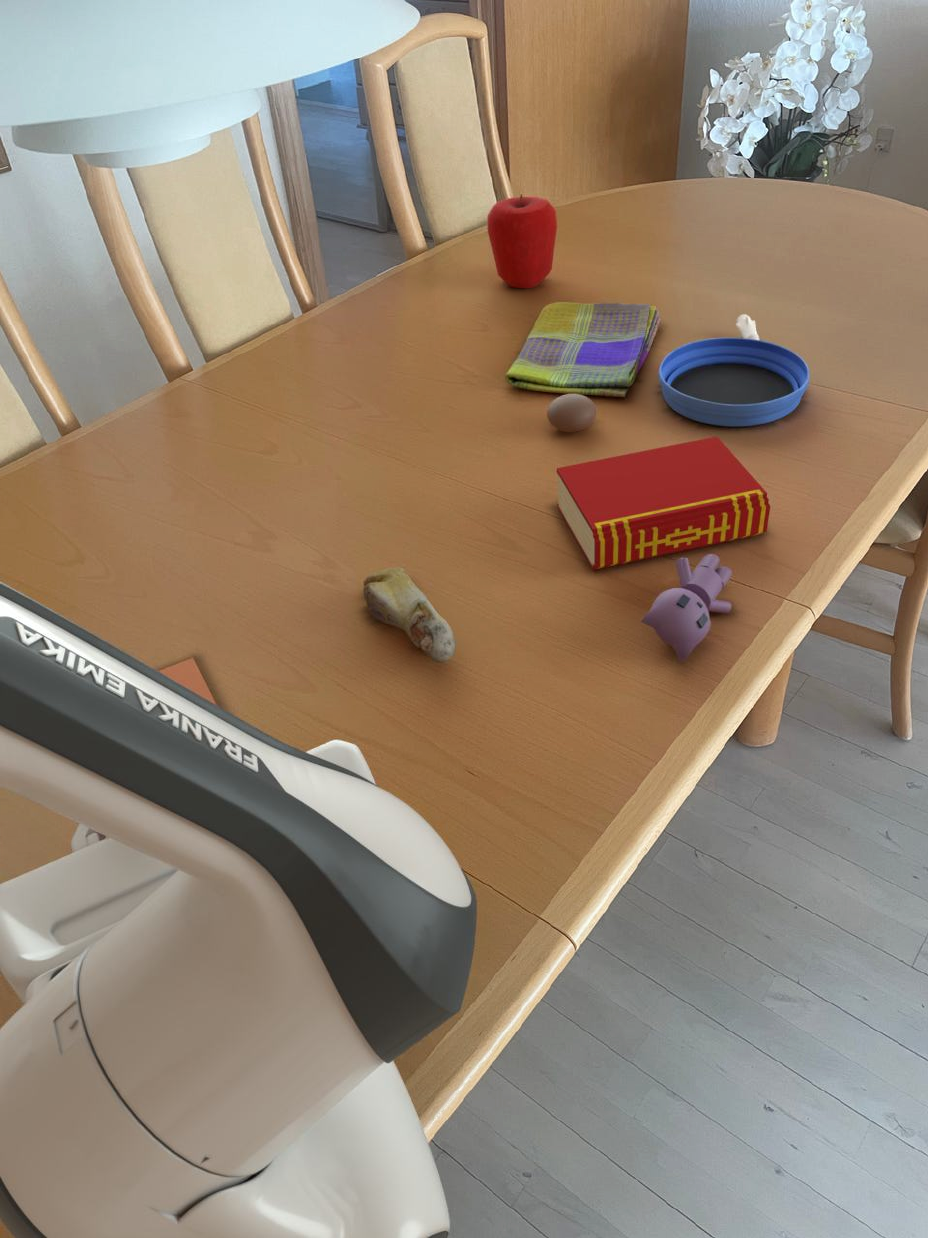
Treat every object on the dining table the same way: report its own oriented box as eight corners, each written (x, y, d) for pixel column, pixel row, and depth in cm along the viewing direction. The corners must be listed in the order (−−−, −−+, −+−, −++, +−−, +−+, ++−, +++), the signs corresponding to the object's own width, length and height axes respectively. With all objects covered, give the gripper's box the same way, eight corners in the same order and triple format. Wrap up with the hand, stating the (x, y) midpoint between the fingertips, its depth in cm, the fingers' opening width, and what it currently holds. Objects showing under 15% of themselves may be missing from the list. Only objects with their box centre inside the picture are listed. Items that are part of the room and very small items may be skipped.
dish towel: (498, 390, 129) (496, 371, 127) (545, 313, 146) (544, 295, 144) (630, 401, 124) (631, 381, 122) (662, 320, 141) (663, 301, 139)
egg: (567, 410, 123) (566, 381, 120) (605, 423, 120) (606, 393, 117) (537, 431, 120) (536, 401, 117) (576, 445, 117) (576, 414, 114)
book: (595, 575, 97) (596, 534, 94) (557, 507, 107) (556, 468, 104) (765, 538, 100) (771, 497, 96) (713, 475, 109) (716, 436, 106)
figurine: (706, 530, 91) (651, 603, 84) (757, 582, 91) (707, 659, 84) (670, 557, 95) (615, 628, 88) (719, 607, 96) (669, 682, 88)
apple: (563, 270, 158) (562, 182, 149) (549, 295, 151) (547, 204, 142) (500, 268, 161) (495, 182, 152) (483, 293, 153) (477, 204, 145)
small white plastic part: (729, 349, 132) (731, 327, 130) (736, 330, 136) (738, 308, 134) (756, 351, 131) (759, 329, 129) (762, 332, 135) (765, 310, 133)
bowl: (643, 422, 119) (644, 395, 117) (673, 356, 132) (675, 331, 130) (796, 438, 114) (801, 411, 111) (813, 368, 126) (817, 342, 124)
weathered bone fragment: (344, 584, 96) (401, 655, 84) (385, 547, 96) (448, 614, 84) (373, 616, 99) (433, 689, 87) (413, 580, 99) (478, 649, 87)
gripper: (425, 824, 47) (319, 661, 57) (-11, 1033, 41) (-47, 809, 50) (437, 899, 51) (337, 735, 61) (43, 1100, 45) (0, 881, 54)
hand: (160, 769), depth 56 cm, fingers closed on terracotta canister, 6 cm apart
